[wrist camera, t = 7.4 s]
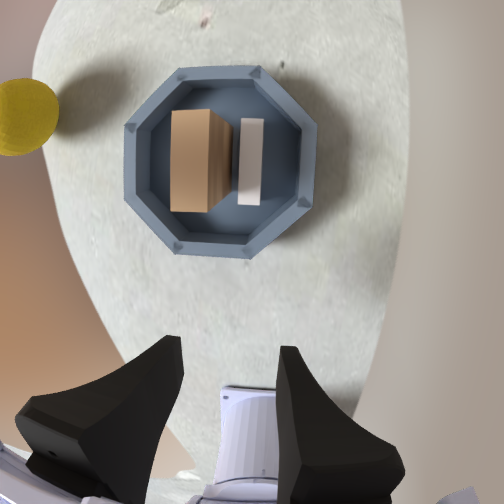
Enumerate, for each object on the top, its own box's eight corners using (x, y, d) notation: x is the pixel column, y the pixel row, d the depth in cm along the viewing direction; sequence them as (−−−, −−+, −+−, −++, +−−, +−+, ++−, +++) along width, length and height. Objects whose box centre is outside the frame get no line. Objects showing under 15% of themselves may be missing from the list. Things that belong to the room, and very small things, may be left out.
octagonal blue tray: (302, 247, 20) (307, 263, 17) (145, 238, 20) (126, 251, 17) (312, 82, 16) (319, 69, 14) (147, 83, 17) (127, 73, 14)
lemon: (23, 138, 18) (-47, 143, 11) (48, 78, 17) (-21, 64, 9) (61, 163, 19) (-16, 175, 11) (89, 98, 17) (14, 83, 10)
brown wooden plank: (231, 191, 18) (207, 212, 11) (207, 191, 18) (170, 211, 12) (233, 127, 17) (209, 108, 10) (208, 127, 17) (171, 111, 10)
